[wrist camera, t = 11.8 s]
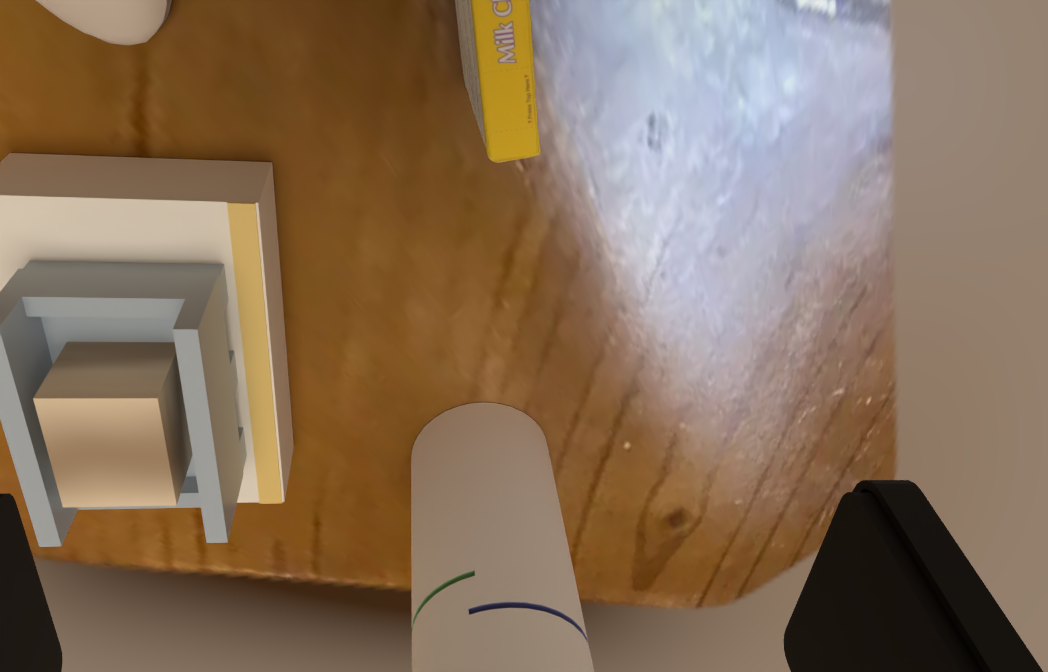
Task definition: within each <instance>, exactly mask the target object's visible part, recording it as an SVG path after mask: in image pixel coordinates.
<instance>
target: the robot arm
mask: <svg viewBox="0 0 1048 672" xmlns="http://www.w3.org/2000/svg"><path fill="white" fill-rule="evenodd" d="M784 651H785V656H786V659H787V663H788V665H789V668H790V670H791V672H1043V671H1042V669H1041V668H1040V666H1039V665H1038V663H1037V662H1036V660H1035V659H1034V657H1033V656H1032V654H1031V653H1030V651H1029V650H1028V649H1027V647H1026V645H1025V644H1024V642H1023V641H1022V640H1021V638H1020V637H1019V635H1018V634H1017V632H1016V631H1015V629H1014V628H1013V626H1012V625H1011V623H1010V622H1009V620H1008V619H1007V617H1006V616H1005V614H1004V613H1003V611H1002V610H1001V608H1000V607H999V605H998V604H997V603H996V601H995V599H994V598H993V597H992V595H991V593H990V592H989V591H988V589H987V588H986V586H985V585H984V583H983V582H982V580H981V579H980V577H979V576H978V574H977V573H976V571H975V570H974V568H973V567H972V565H971V564H970V562H969V561H968V559H967V558H966V556H965V555H964V553H963V552H962V550H961V549H960V548H959V546H958V544H957V543H956V542H955V540H954V539H953V537H952V536H951V534H950V533H949V531H948V530H947V528H946V527H945V525H944V524H943V522H942V521H941V519H940V518H939V516H938V515H937V514H936V512H935V510H934V509H933V507H932V506H931V504H930V503H929V501H928V500H927V498H926V497H925V496H924V494H923V493H922V491H921V490H920V489H919V487H918V486H917V485H916V484H915V483H913V482H911V481H909V480H864V481H861V482H859V483H858V484H857V485H856V487H855V488H854V490H853V492H847V493H846V494H844V495H843V497H842V498H841V500H840V503H839V505H838V507H837V510H836V512H835V514H834V517H833V519H832V521H831V524H830V526H829V529H828V531H827V533H826V536H825V538H824V540H823V543H822V545H821V547H820V550H819V552H818V554H817V557H816V559H815V562H814V564H813V566H812V569H811V571H810V573H809V576H808V578H807V581H806V583H805V585H804V588H803V590H802V592H801V595H800V597H799V599H798V602H797V604H796V607H795V609H794V611H793V614H792V616H791V618H790V620H789V623H788V625H787V628H786V630H785V634H784ZM61 669H62V651H61V646H60V643H59V640H58V637H57V634H56V630H55V627H54V624H53V621H52V617H51V614H50V611H49V608H48V604H47V602H46V598H45V595H44V592H43V588H42V585H41V582H40V579H39V576H38V572H37V569H36V566H35V563H34V559H33V556H32V553H31V550H30V547H29V543H28V540H27V537H26V534H25V530H24V527H23V524H22V521H21V518H20V514H19V511H18V508H17V505H16V502H15V500H14V497H13V496H12V495H11V494H0V672H61Z"/></svg>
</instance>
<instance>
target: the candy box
mask: <svg viewBox="0 0 1048 672" xmlns="http://www.w3.org/2000/svg"><path fill="white" fill-rule="evenodd" d="M455 6H456V16H457V26H458V35H459V44H460V53H461V62H462V70H463V78H464V84H465V88H466V91H467V93H468V96H469V100H470V103H471V106H472V109H473V112H474V115H475V119H476V122H477V125H478V128H479V131H480V134H481V137H482V140H483V143H484V146H485V148H486V151H487V154H488V157H489V159H490V160H491V161H494V162H497V163H500V162H505V161H511V160H517V159H522V158H528V157H534V156H538V155H540V153H541V151H540V142H539V134H538V121H537V107H536V93H535V78H534V64H533V47H532V30H531V15H530V1H529V0H455Z"/></svg>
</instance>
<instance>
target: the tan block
mask: <svg viewBox="0 0 1048 672" xmlns="http://www.w3.org/2000/svg"><path fill="white" fill-rule="evenodd" d="M33 400H34V404H35V407H36V411H37V415H38V418H39V422H40V426H41V429H42V433H43V436H44V440H45V444H46V447H47V451H48V455H49V458H50V462H51V466H52V469H53V473H54V477H55V480H56V484H57V487H58V491H59V495H60V498H61V502H62V506H63V507H119V506H177V503H178V500H179V497H180V493H181V490H182V487H183V484H184V481H185V478H186V474H187V471H188V468H189V465H190V462H191V458H192V455H193V454H192V448H191V441H190V435H189V429H188V423H187V416H186V410H185V404H184V398H183V392H182V385H181V379H180V373H179V367H178V360H177V354H176V348H175V342H66V344H65V346H64V347H63V349H62V351H61V352H60V354H59V356H58V357H57V359H56V361H55V362H54V364H53V366H52V368H51V369H50V371H49V373H48V374H47V376H46V378H45V379H44V381H43V383H42V384H41V386H40V388H39V389H38V391H37V393H36V394H35V396H34V398H33Z"/></svg>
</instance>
